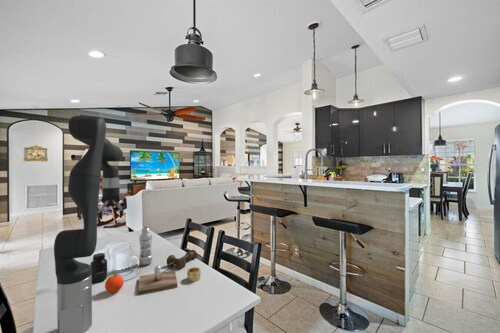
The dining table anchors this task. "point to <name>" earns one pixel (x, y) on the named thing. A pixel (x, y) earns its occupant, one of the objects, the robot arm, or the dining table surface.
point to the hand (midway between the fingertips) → (111, 218)
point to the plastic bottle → (145, 247)
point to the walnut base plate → (157, 282)
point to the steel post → (157, 273)
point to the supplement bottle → (99, 268)
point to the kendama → (181, 259)
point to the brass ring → (193, 274)
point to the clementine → (114, 283)
